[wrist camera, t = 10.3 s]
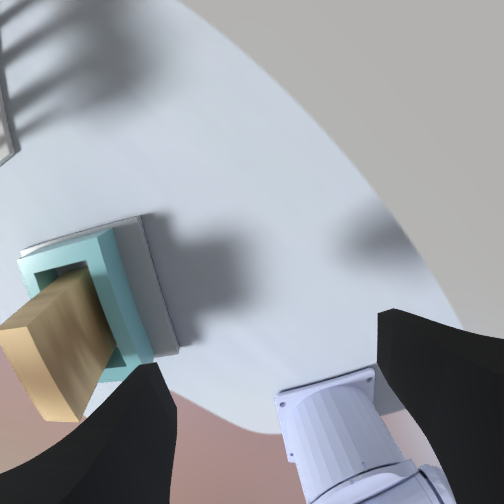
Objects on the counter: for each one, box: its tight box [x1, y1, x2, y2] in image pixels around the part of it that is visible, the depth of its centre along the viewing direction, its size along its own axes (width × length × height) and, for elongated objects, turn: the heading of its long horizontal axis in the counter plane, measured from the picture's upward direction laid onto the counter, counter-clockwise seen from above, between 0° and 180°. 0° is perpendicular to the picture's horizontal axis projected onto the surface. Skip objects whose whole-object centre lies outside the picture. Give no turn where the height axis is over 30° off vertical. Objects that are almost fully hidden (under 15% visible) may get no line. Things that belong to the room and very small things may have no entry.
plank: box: [0, 266, 117, 422], centre depth 14 cm, size 5×2×8 cm, turn 11°
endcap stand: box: [17, 216, 180, 383], centre depth 17 cm, size 9×9×3 cm
